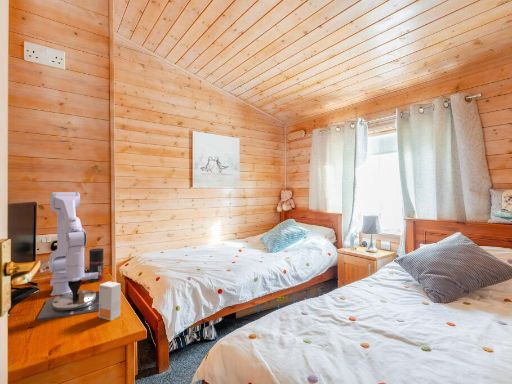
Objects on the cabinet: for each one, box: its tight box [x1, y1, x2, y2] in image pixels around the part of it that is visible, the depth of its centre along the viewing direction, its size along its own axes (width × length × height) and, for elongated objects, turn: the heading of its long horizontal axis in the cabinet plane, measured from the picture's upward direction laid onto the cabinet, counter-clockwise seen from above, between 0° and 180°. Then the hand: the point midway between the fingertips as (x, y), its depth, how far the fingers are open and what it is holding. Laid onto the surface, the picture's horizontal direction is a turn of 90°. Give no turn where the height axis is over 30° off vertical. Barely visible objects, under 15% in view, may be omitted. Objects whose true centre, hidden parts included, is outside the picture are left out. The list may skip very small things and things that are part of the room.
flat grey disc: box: [53, 289, 96, 311], centre depth 105 cm, size 16×14×6 cm
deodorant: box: [88, 247, 104, 283], centre depth 133 cm, size 6×6×15 cm
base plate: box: [36, 290, 99, 322], centre depth 105 cm, size 19×20×1 cm
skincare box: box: [98, 280, 122, 322], centre depth 97 cm, size 6×4×12 cm
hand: (74, 300), depth 100 cm, fingers closed, pressing on flat grey disc
